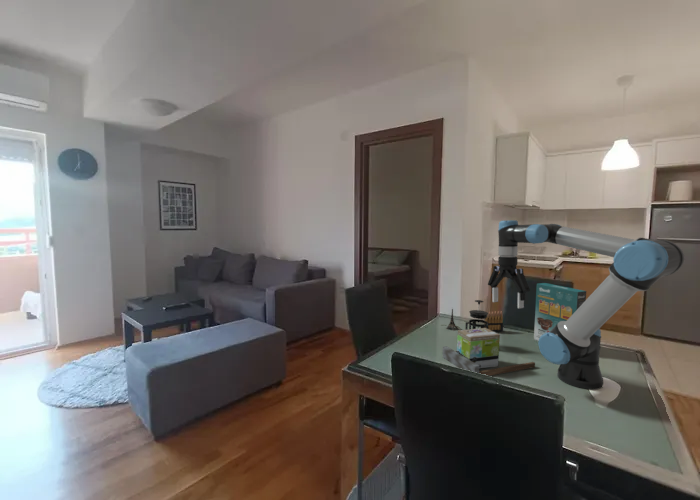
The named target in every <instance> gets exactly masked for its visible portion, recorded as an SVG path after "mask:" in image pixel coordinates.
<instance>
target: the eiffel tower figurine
mask: <svg viewBox="0 0 700 500" xmlns="http://www.w3.org/2000/svg"><path fill="white" fill-rule="evenodd" d="M449 320H450V322H449V324H448V326H447V324H441V325H440V326H447V327H446V328H445V330H448V331H449V330H450V331H453V332H455V331H458V330H463V328H461V327H460V326H458V325H456V323H455V320H454V308H453V307H451V317H450V319H449Z"/></svg>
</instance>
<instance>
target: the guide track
mask: <svg viewBox="0 0 700 500" xmlns="http://www.w3.org/2000/svg"><path fill="white" fill-rule="evenodd" d="M442 359H445V360H446V361H448V362H449V363H451V364H452V365H454V366H455V367H456V368H458V369H460V368H462V369H466V370H470V371H473V372H477V373H481V374H486V375H489V376H495V375H500V374H506V373H510V372H511V373H512V372H518V371H523V370H527V369H532V368H533V369H534V368H536V362H534V361H529V362H523V363H519V364H518V363H517V364H513V365H507V366H500V367H494V368H491V369H485V370H480V368H479V365H477V364H476V363H474V362H472V361H470V360H469V359H467V358H465V357H464V356H462V355H460V354H459V353H457V350H454V349H452V348H450V347H448V346H442ZM489 376H488V377H489Z"/></svg>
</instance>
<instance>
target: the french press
mask: <svg viewBox="0 0 700 500" xmlns="http://www.w3.org/2000/svg"><path fill="white" fill-rule="evenodd" d="M474 302H475V303H477V305H478V306H480V304H481V303H484V300H481V299H476V300H474ZM487 315H489V312H488V311H487V312H486V311H485V310H480V307H478V309H473V310H472V309H471V310H470V311H469V316H470V317H471V318H474V319H469V321H465V328H464V330H468V329H479V328H484V327H485V328H487V326H488V322H487V321H485V318H487ZM480 323H482V324H480ZM484 323H485V324H484Z"/></svg>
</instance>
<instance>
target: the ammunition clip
mask: <svg viewBox="0 0 700 500" xmlns="http://www.w3.org/2000/svg"><path fill="white" fill-rule="evenodd" d="M485 312H488V310H486V311H485ZM503 317H504V316H503V311H502V310H497V311H496V310H492V311H491V310H489V312H488V315H487V318H485V319H484V321H487V322H488V326H487V329H489V330H491V331H493V332H495V333H498V332H502V333H503V332H504V322H503V319H504V318H503ZM483 324H485V323H483ZM484 328H485V327H484Z"/></svg>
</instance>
